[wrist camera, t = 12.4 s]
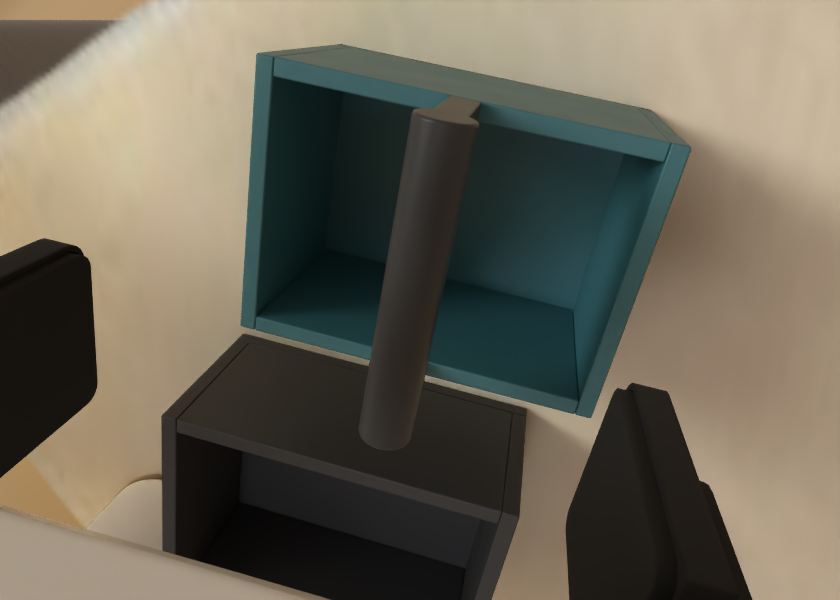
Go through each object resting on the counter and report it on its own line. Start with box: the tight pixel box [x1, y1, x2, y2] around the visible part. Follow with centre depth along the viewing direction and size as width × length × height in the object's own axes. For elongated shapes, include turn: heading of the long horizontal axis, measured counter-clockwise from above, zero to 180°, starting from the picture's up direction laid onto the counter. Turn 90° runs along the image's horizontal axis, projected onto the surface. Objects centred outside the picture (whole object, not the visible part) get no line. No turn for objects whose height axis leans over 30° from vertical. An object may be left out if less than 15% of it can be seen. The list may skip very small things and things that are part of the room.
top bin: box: [241, 44, 691, 451], centre depth 19 cm, size 11×8×11 cm
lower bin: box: [162, 334, 527, 600], centre depth 27 cm, size 13×10×7 cm
